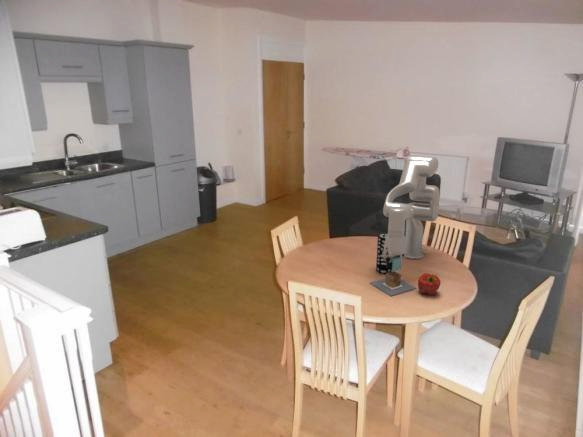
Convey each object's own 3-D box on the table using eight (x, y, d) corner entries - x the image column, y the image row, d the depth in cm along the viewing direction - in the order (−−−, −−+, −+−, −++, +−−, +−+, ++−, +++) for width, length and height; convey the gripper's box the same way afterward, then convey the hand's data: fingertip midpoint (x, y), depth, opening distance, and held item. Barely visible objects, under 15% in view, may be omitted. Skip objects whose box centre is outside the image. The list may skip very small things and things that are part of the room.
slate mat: (394, 276, 221) (394, 275, 221) (416, 288, 207) (416, 287, 207) (369, 283, 214) (369, 282, 213) (391, 296, 200) (391, 295, 200)
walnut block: (393, 281, 213) (394, 270, 212) (400, 285, 209) (401, 274, 208) (385, 284, 211) (386, 272, 209) (392, 287, 207) (393, 276, 205)
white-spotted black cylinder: (382, 275, 222) (384, 239, 216) (372, 269, 229) (374, 235, 223) (395, 272, 226) (397, 237, 220) (385, 266, 233) (386, 232, 227)
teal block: (394, 265, 211) (395, 254, 209) (401, 269, 206) (402, 258, 205) (386, 267, 208) (387, 256, 207) (393, 271, 204) (394, 260, 202)
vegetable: (444, 297, 199) (446, 277, 196) (424, 299, 197) (426, 280, 194) (432, 287, 209) (434, 268, 206) (413, 289, 207) (414, 270, 204)
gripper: (404, 227, 209) (401, 262, 214) (376, 233, 201) (375, 268, 207) (415, 232, 203) (412, 267, 208) (387, 238, 195) (385, 274, 200)
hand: (393, 267), depth 207 cm, fingers closed on teal block, 4 cm apart
